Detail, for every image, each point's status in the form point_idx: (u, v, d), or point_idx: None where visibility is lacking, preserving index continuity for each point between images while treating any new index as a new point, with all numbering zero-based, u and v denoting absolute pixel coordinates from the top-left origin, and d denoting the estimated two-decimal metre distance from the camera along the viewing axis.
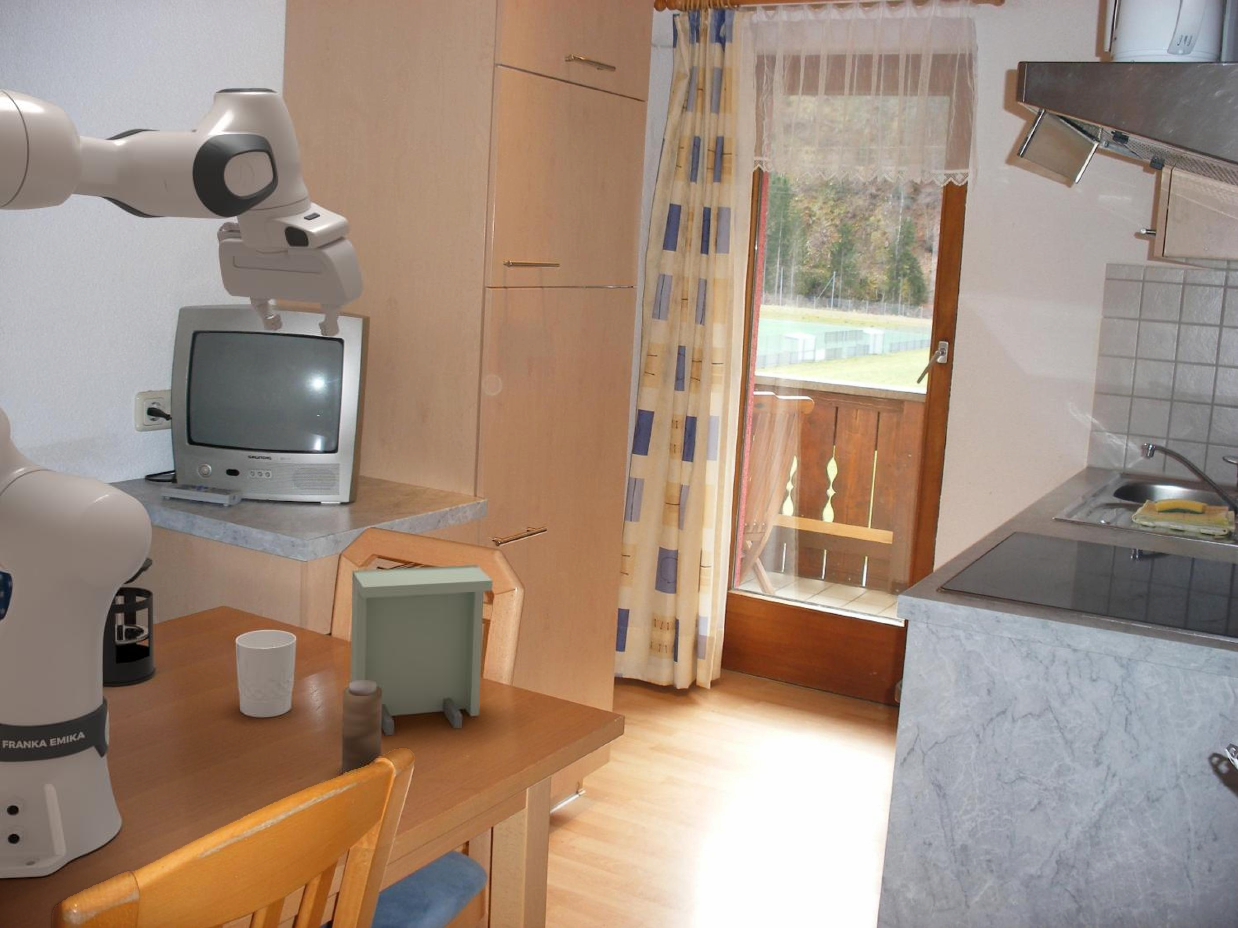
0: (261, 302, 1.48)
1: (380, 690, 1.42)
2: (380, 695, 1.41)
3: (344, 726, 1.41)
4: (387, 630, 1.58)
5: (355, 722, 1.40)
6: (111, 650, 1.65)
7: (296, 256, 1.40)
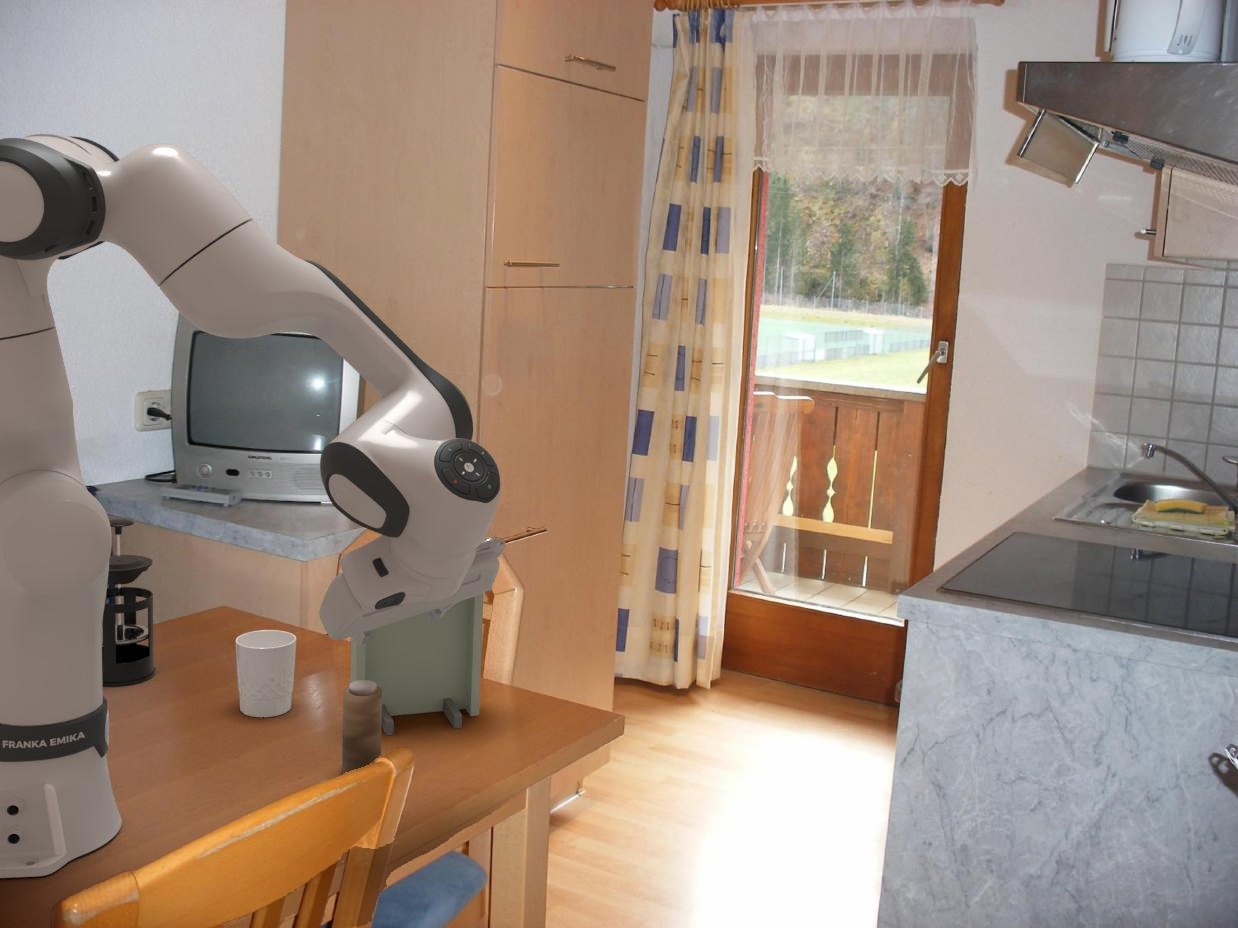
0: None
1: (380, 690, 1.42)
2: (380, 695, 1.41)
3: (344, 726, 1.41)
4: (387, 630, 1.58)
5: (355, 722, 1.40)
6: (111, 650, 1.65)
7: None
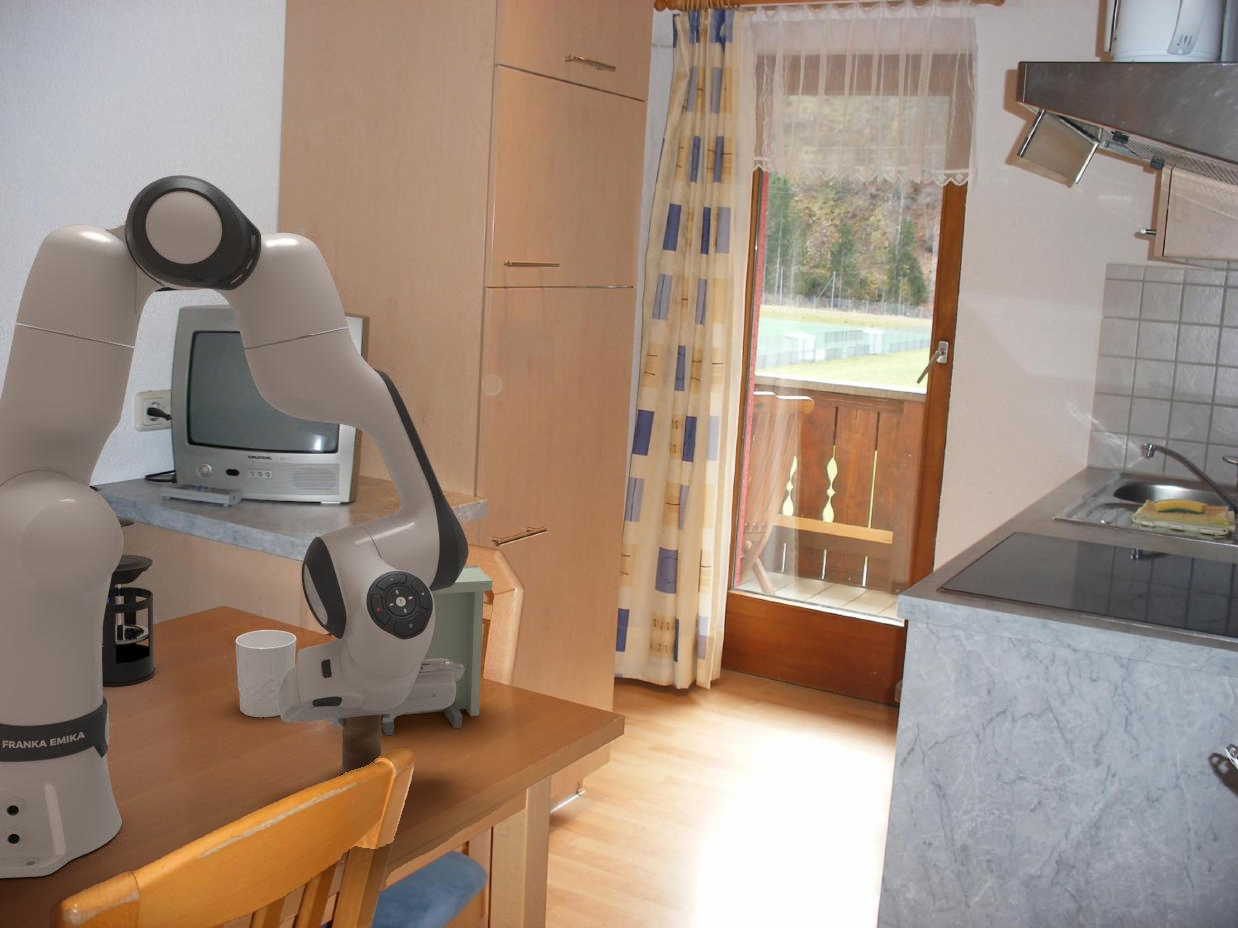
0: None
1: None
2: None
3: (344, 726, 1.41)
4: None
5: (355, 722, 1.40)
6: (111, 650, 1.65)
7: None
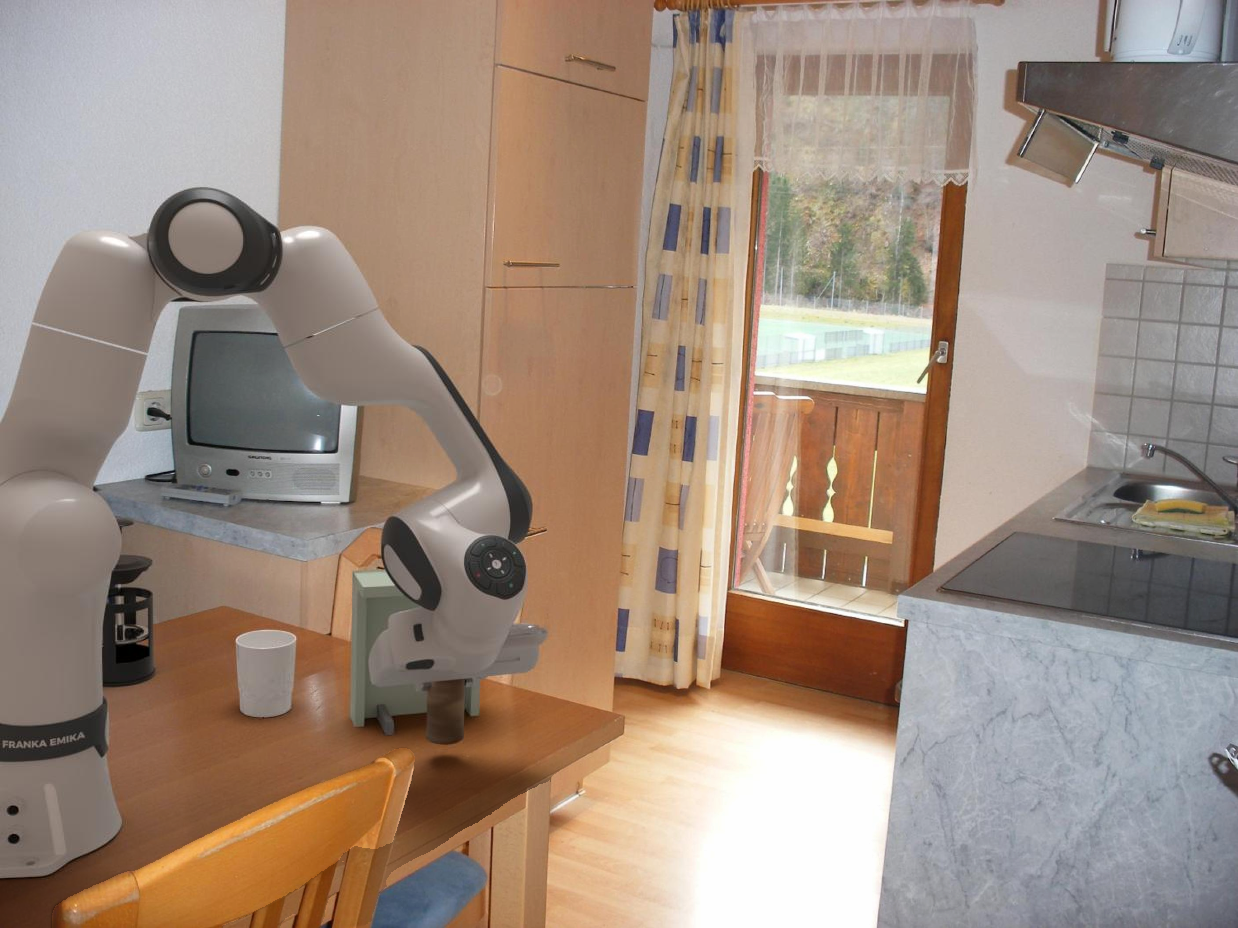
0: None
1: None
2: None
3: (429, 693, 1.44)
4: None
5: (441, 689, 1.43)
6: (111, 650, 1.65)
7: None
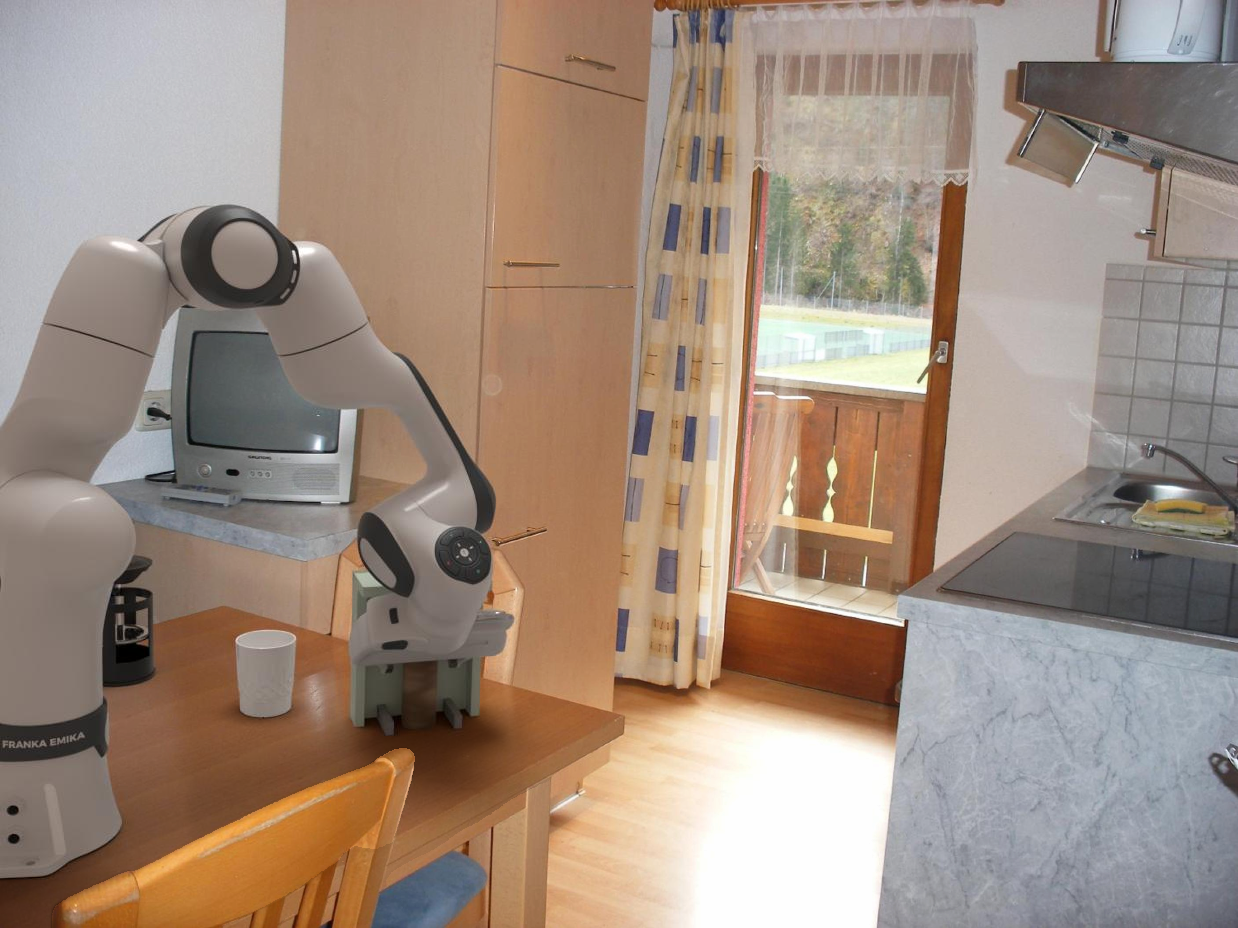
0: None
1: None
2: None
3: (404, 682, 1.56)
4: None
5: (415, 678, 1.55)
6: (111, 650, 1.65)
7: None
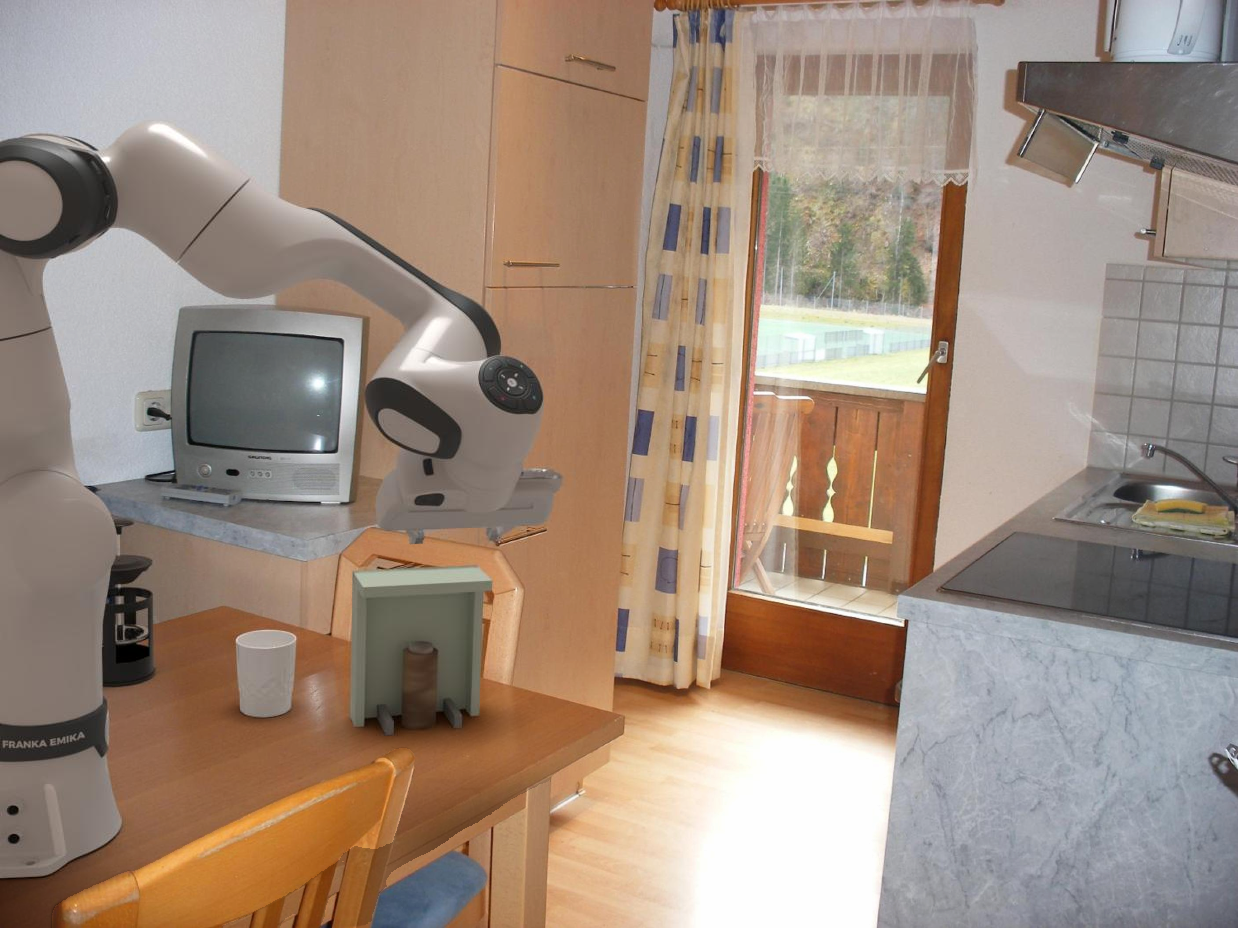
0: None
1: (436, 650, 1.58)
2: (436, 654, 1.57)
3: (404, 682, 1.56)
4: (387, 630, 1.58)
5: (415, 678, 1.55)
6: (111, 650, 1.65)
7: None
